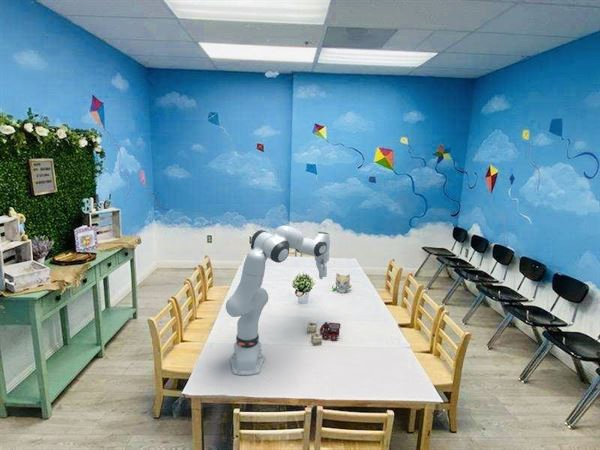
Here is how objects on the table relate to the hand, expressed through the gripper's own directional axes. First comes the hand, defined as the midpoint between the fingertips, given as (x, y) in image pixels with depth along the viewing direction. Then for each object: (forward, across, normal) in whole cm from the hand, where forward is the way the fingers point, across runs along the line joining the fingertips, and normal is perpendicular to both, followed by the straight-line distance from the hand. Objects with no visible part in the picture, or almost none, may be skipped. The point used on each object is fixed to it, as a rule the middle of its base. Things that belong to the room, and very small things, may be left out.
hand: (320, 278), depth 238 cm
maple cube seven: (+33, -7, +5) cm, 34 cm away
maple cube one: (+33, -20, +4) cm, 39 cm away
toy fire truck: (+33, -14, -5) cm, 37 cm away
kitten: (+33, +54, -26) cm, 69 cm away
